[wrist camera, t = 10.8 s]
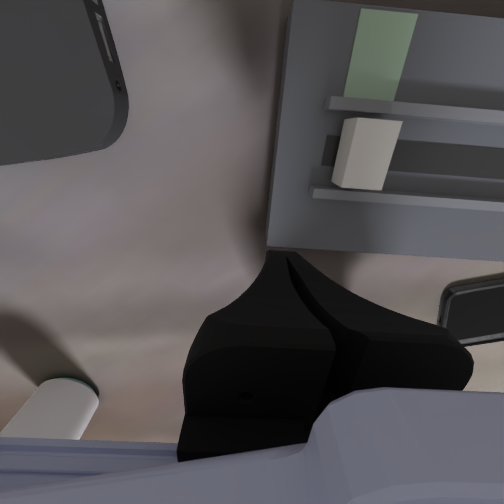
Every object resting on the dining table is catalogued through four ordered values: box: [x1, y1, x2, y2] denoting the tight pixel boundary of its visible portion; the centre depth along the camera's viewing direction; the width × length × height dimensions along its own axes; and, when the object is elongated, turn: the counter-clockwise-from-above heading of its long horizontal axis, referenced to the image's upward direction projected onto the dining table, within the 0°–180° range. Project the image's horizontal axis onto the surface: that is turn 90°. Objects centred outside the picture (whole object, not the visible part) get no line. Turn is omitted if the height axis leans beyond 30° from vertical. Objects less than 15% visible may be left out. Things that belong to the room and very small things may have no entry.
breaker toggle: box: [331, 118, 403, 190], centre depth 14 cm, size 4×2×2 cm, turn 176°
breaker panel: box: [265, 0, 504, 262], centre depth 16 cm, size 14×22×4 cm, turn 86°
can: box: [0, 378, 99, 440], centre depth 25 cm, size 7×7×12 cm
